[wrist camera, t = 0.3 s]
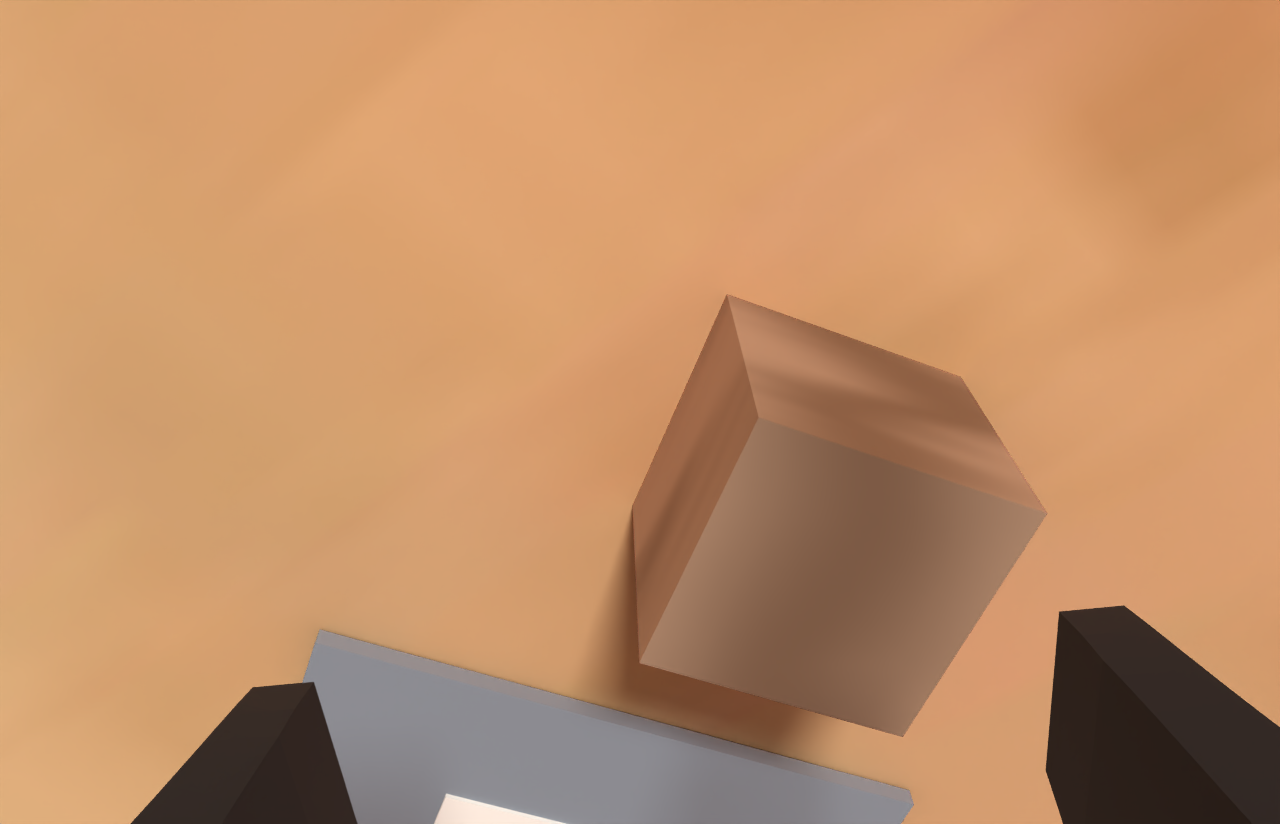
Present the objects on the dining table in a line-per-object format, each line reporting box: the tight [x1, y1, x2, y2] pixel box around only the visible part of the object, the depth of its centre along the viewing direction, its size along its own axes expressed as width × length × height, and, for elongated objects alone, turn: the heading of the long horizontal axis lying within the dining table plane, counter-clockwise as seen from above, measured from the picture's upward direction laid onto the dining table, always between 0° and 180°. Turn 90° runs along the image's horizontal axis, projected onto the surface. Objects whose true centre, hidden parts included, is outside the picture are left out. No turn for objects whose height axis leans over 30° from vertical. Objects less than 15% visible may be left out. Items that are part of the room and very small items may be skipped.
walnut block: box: [633, 294, 1047, 737], centre depth 19 cm, size 4×4×4 cm
